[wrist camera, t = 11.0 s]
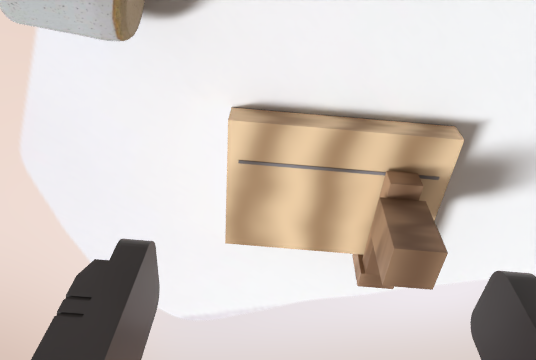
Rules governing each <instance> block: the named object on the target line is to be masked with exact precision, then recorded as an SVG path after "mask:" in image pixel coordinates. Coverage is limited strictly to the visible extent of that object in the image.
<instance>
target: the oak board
mask: <svg viewBox="0 0 536 360" xmlns="http://www.w3.org/2000/svg"><path fill="white" fill-rule="evenodd" d="M463 143H464V139H463V137H462V136H461V134H460V133H459V131H458V130H457V128H456V127H455V126H445V125H434V124H422V123H410V122H398V121H386V120H374V119H362V118H351V117H339V116H327V115H315V114H303V113H291V112H279V111H268V110H256V109H244V108H231V112H230V115H229V119H228V154H227V198H226V241H225V243H229V244H241V245H253V246H265V247H277V248H289V249H301V250H314V251H326V252H338V253H350V254H362V255H364V251H365V248H366V244H367V240H368V237H369V233H370V229H371V226H372V222H373V218H374V214H375V211H376V207H377V203H378V200H379V196H380V192H381V189H382V185H383V181H384V177H385V174H386V171H396V172H408V173H418V175H419V177H420V179H421V182H422V184H423V186H424V187H423V190H422V193H421V196H420V198H419V201H426V203H427V205H428V208H429V210H430V212H431V215H432V217H433V219H434V220H435V218H436V215H437V212H438V209H439V207H440V204H441V201H442V199H443V196H444V193H445V191H446V188H447V185H448V183H449V180H450V177H451V175H452V172H453V169H454V167H455V164H456V161H457V159H458V156H459V153H460V151H461V148H462V145H463Z"/></svg>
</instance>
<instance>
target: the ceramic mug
mask: <svg viewBox="0 0 536 360" xmlns="http://www.w3.org/2000/svg"><path fill="white" fill-rule="evenodd" d="M144 2H145V0H0V9H1V10H2V12H3V13H4V14H5V15H6V17H8V18H9V19H10V20H11V21H13V22H16V23H19V24H24V25H29V26H36V27H40V28H46V29H50V30H55V31H60V32H66V33H71V34H78V35H82V36H87V37H91V38H96V39H101V40H107V41H125V40H128V39H130V38H131V37H132V36H133V35H134V34H135V32H136V31H137V29H138V26H139V23H140V20H141V17H142V13H143V8H144Z"/></svg>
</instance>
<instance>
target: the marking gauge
mask: <svg viewBox="0 0 536 360" xmlns="http://www.w3.org/2000/svg"><path fill="white" fill-rule="evenodd" d="M423 187H424V186H423V184H422V182H421V179H420V177H419V175H418V173H408V172H396V171H386V174H385V177H384V181H383V185H382V189H381V192H380V196H379V200H378V203H377V207H376V211H375V214H374V218H373V222H372V226H371V229H370V233H369V237H368V240H367V244H366V248H365V251H364V255H362V254H353V261H354V267H355V273H356V279H357V285H358V286H363V287H375V288H387V289H393V288H394V286H395V287H408V288H420V289H433V287H434V285H435V282H436V280H437V278H438V275H439V273H440V270H441V268H442V266H443V263H444V261H445V258H446V256H447V254H448V252H447V250H446V248H445V245H444V243H443V241H442V238H441V236H440V233H439V231H438V229H437V226H436V224H435V222H434V219H433V217H432V215H431V212H430V210H429V208H428V205H427V203H426V201H419V198H420V196H421V193H422V190H423Z"/></svg>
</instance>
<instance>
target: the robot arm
mask: <svg viewBox="0 0 536 360" xmlns="http://www.w3.org/2000/svg"><path fill="white" fill-rule="evenodd" d="M158 300H159V276H158V266H157V256H156V247H155V243H154V242H153V241H143V240H131V239H121V240H120V241H119V242H118V244H117V245H116V248H115V250H114V252H113V254H112V256H111V258H110V260H109V261H108V260H96V259H95V260H94V261H93V262H91V263H90V264H89V265H88V266H87V267H86V268H85V269H84V270H82V271H81V272H80V273H79V274H78V275H77V276H76V278H75V280H74V281H73V284H72V285H71V287H70V289H69V291H68V293H67V294H66V299H64V300H63V302H62V304H61V306H60V307H59V309H58V311H57V316H55V317H54V319H53V320H52V322H51V324H50V326H49V328H48V330H47V331H46V333H45V335H44V337H43V339H42V340H41V342H40V344H39V346H38V348H37V350H36V352H35V353H34V355H33V357H32V359H31V360H141V358H142V355H143V352H144V348H145V345H146V342H147V339H148V336H149V333H150V329H151V326H152V323H153V320H154V317H155V313H156V310H157V305H158ZM471 333H472V337H473V340H474V342H475V345H476V347H477V350H478V352H479V355H480V357H481V360H536V277H535V276H534V275H533V274H530V273H518V272H506V271H496V272H494V273H493V274H492V276H491V277H490V279H489V281H488V283H487V285H486V287H485V289H484V291H483V293H482V295H481V297H480V299H479V301H478V303H477V305H476V307H475V309H474V310H473V313H472V317H471Z"/></svg>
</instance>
